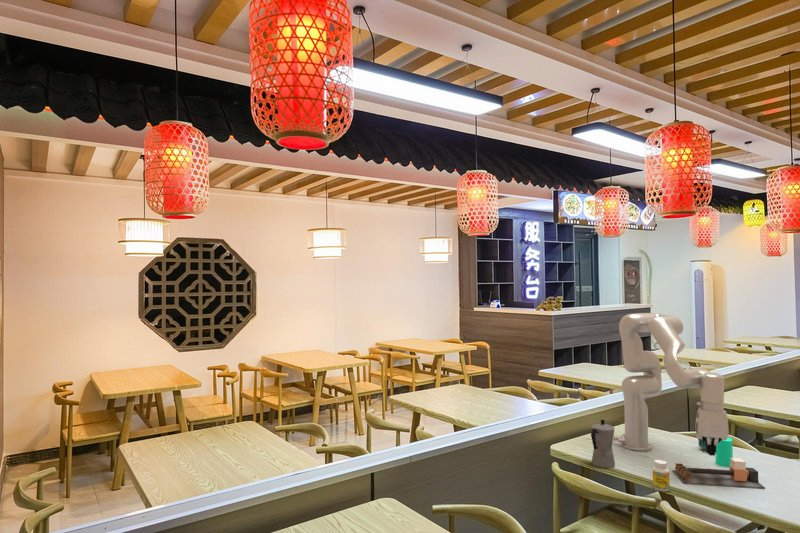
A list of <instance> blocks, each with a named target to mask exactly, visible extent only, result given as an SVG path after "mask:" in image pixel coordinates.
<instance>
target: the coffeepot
mask: <svg viewBox="0 0 800 533" xmlns="http://www.w3.org/2000/svg"><path fill="white" fill-rule="evenodd" d="M605 422H606V420H605V419H600V423H595V424H591V426H590V429H591V433H590V437H591V442H592V446H593V451H592V459H591V464H592V465H593V466H595V467H598V468H601V469H612V468H614V467H615V464H616V462H615V457H614V456H615V455H614V450H613V443H614V442H613V441H614V436H615V428H616V427H614V426H612V424H608V423H607V424H605Z"/></svg>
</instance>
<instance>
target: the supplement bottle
mask: <svg viewBox="0 0 800 533" xmlns="http://www.w3.org/2000/svg"><path fill="white" fill-rule="evenodd" d="M653 463H654V466H653V467H652V487H653V489H654V490H656V491H660V492H668V491H670V488H671V487H670V486H671V485H670V483H671V482H670V469H669V468H668V464H667V463H668V462H667V461H665V460H662V459H655V460H654V462H653Z"/></svg>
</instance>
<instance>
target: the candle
mask: <svg viewBox="0 0 800 533" xmlns="http://www.w3.org/2000/svg"><path fill="white" fill-rule="evenodd" d="M733 450H734V449H733V438H731V437H729V436H728V437H727V440H723V441H720V442H719V443H718V445H716V453H715V464H716V465H717V466H720V467H725V468H730V465H731V464H730V458H734V456H733V454H734V452H733Z"/></svg>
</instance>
